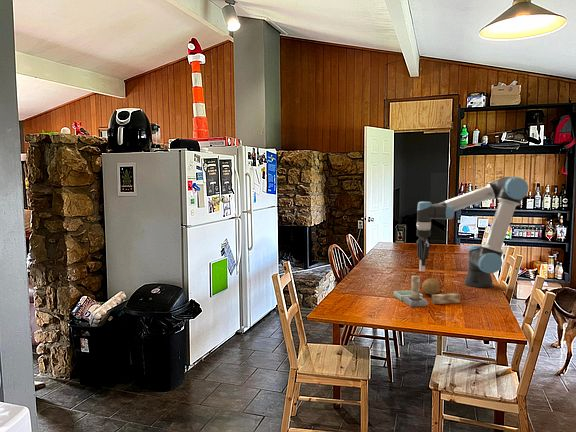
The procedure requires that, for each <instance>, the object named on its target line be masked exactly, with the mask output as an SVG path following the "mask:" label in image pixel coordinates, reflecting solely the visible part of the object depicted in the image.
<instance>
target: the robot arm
mask: <svg viewBox="0 0 576 432" xmlns="http://www.w3.org/2000/svg"><path fill="white" fill-rule="evenodd" d="M528 192H529V185H528V183H527V181H526V180H525V179H523V178H522V177H519V176H504V177H501V178H498V179H496V180H493V181H492V182H491V181H490V182H489V183H487V184H486V185H485V186H483V187H480V188H478V189H474V190H472V191H468V192H467V193H464V194H460V195H457V196H454V197H452V198H449V199H447V200H444V201H441V202H438V203H436V202H435V203H433V202H431V201H418V202H417V209H416V224H415V225H416V237H418V239H417V240H416V239H415V242H416V250H417V251H416V252H417V253H416V254H417V255H416V256H417V258H418V259H419V263H418V264H419V267H418V268H419V270H418V272H425V271H426V260H428V258H429V251H430V247H431V243H429V238H430V237H431V228H432V220H452V219H454V217H455V212H457V211H459V210H462V209H465V208H468V207H470V206H473V205H476V204H479V203H482V202H485V201H488V200H493V201H494V200H496V199H497V201H498V205H497V207H496V210H495V213H494V216H493V219H492V222H491V224H490V228H489V230H488V234H487V235H486V238H485V243H483V244H481V245H470V246H469V248H468V269H467V273H466V275H465V279H464V284H465V285H466V286H469V287H474V288H491V287H493V284H494V282H493V281H494V280H493V277H492V276H491V274H495V273H497V272H498V271H500V270H501V269H502V266H503V259H502V256H503V253H504V252H503V249H502V246H503V244H504V241H505V238H506V235H507V232H508V230H509V227H510V224H511V221H512V218H513V216H514V213H515V210H516V207H517V206H519V205H521V204H522V203H521V202H522V200H523V199H524V198H525V197H526V196H527V195H528ZM432 203H433V204H432Z"/></svg>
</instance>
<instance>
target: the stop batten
mask: <svg viewBox="0 0 576 432" xmlns="http://www.w3.org/2000/svg"><path fill="white" fill-rule="evenodd" d="M431 303H432V304H434V305H438V304H439V305H441V304H459V303H461V294H460V293H457V292H454V293H439V294H438V293H436V294H433V295H431Z"/></svg>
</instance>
